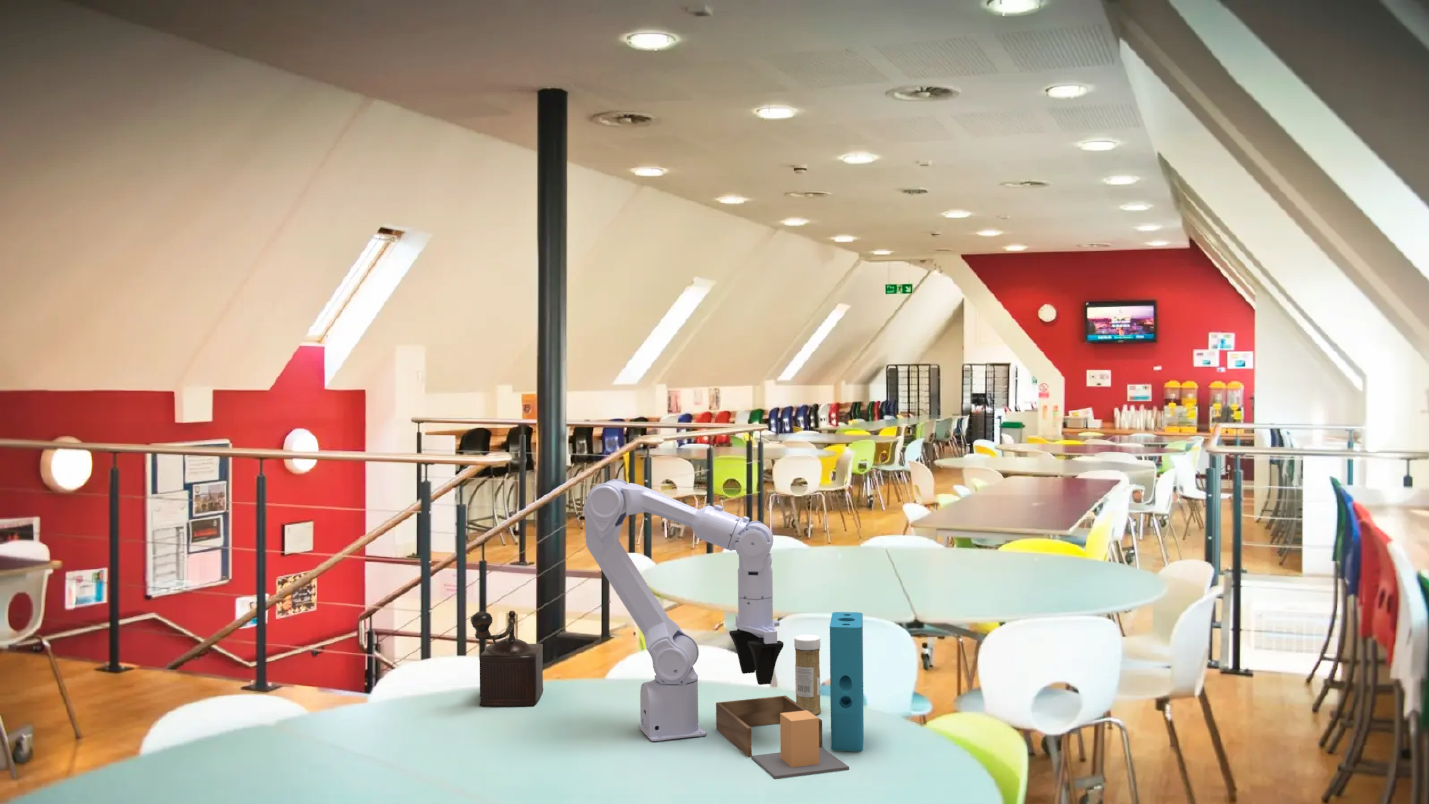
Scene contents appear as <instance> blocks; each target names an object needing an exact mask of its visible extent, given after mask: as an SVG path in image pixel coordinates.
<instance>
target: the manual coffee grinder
mask: <svg viewBox="0 0 1429 804" xmlns="http://www.w3.org/2000/svg"><path fill="white" fill-rule="evenodd" d="M508 617H509V618H508V619H507V623H508V624H507V627H506V630H505V631H504V632H502V633H500V634H495V635H493V634H492V633H491V632H490V629H489V628H490V626H491V625H492V624H493V617H492V615H491V614H490V613H489V612H486V611H483V610H482V611H478V612H476V613H475V614H473V615H472V616H471V617H470V624H471V625H472V627H473V629H475V634H474V636H475V639H476V640H491V641H492V642H493V643H490V644H489V645H487V646H486V647H485V649H484V651H483V652H481V653H480V655H479V657H478V659H479V660H478V661H479V698H480V699H479V701H480V702H479V706H480V707H487V708H488V707H489V708H529V707H531V708H532V707H533V708H534V707H535V706H537V705H538V703H539V701H540V699H541V698H542V696H543V694H544V681H543V680H544V676H543V675H544V673H543V671H544V669H543V666H544V665H543V664H544V662H543V661H544V660H543V657H544V655H543V649H544V645H543V643H528V642H526V641H524V640H522V639H519V638H516V636H515V624H516V623H517V621H516V612H515V611H514V610H509V612H508ZM508 635H509V636H508ZM507 636H508V637H507Z"/></svg>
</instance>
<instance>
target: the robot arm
mask: <svg viewBox="0 0 1429 804" xmlns="http://www.w3.org/2000/svg"><path fill="white" fill-rule="evenodd" d="M723 509H724V506H722V505H719V504H715V505H714V506H712V505H706V506H703V507H701V508H700V509H699V508H696V507H694V506H691V505H689V504H686V503H684V502H682V501H680V500H678V499H677V500H676V499H675V498H672V497H670V496H667V495H665V494H663V493H660V492H658V491H656V490H653V489H652V488H649V487H646V486H644V485H640V484H639V483H638V484H637V483H633V482H630V483H628V482H627V481H625V480H623V479H621V478H614V479H611V480H610V479H609V480H607V481H606V482H604V483H599V484H596V485H594V486H593V487H592V488H591V489H590V490H589V492H588V493H587V496H586V499H585V502H584V506H583V507H582V513H583V515H584V524H585V545H586V547H587V550H588V551H589V552H590V555H591V556H592V557H593V558H594V559H593V560H594V561H595V562H596V564H597V565H598V567H599V568H600V570H601V571H602V573H603V574H604V576H605V578H606V579H607V581H608V582H609V584H610V586H611V587H612V589H613V590H614V591H615V593H616V595H617V596H618V598H619V599H620V601H621V603H622V604H623V605H624V607H625V608H626V610H627V612H628V613H629V615H630V616H631V618H632V619H633V622H634V623H635V624H636V626H637V627H638V628H639V630H640V632H641V633H642V635H643V637H644V642H645V647H646V651H647V652H648V653H649V656H650V658H651V661H652V668H653V671H654V673H655V675H654V679H652V680H649V681H645V682H643V683H641V686H640V691H639V692H640V694H639V695H640V700H639V701H640V704H639V705H640V726H639V729H640V730H641V731H642V732H643V734H644V735H646V737H647V738H648V739H649V740H650V741H651V742H658V741H659V742H660V741H667V740H674V739H675V740H676V739H683V738H684V739H686V738H695V737H702V736H703V737H704V736H706V735H707V731H705V730H704V729H703V728H702V727H701V726H700V725H699V675H698V674H697V672H696V671H695V668H694V665H695V664H696V663H697V662H698V659H699V655H700V652H699V651H700V649H699V646H698V643H697V642H696V640H694V638H693V637H691V636H690V635H688V634H687V633H685V632H684V631H683V630H682V629H681V627H680V626H679V624H678V623H677V622H675V621H674V620H672V619H671V617H669V616H668V614H667V613H666V611H665V610H664V608H663V607H662V605H661V603H660V602H659V600H658V599H657V597H656V595H655V594H654V593H653V591H652V590H651V588H650V587H649V585H648V583H647V582H646V580H645V579H644V577H643V576H642V574H641V572H640V570H638V568H637V567H636V565H635V563H634V562H633V559H631V557H630V555H629V554H628V552H627V551H626V550H625V549H626V548H624V546H623V545H622V543H621V541H620V535H621V531H622V528H623V524H624V521H625V519H626V518H627V516H631V515H638V514H644V513H649V514H651V515H655V516H658V517H661V518H662V519H663V518H664V519H666V520H669V521H670V522H671V521H672V522H674V523H678V524H679V525H684V526H685V527H689V528H691V530H692V532H693V533H694V535H695V538H697V539H698V540H699V539H700V540H702V541H704V542H707V543H709V544H711V545H715V546H717V547H720V548H723V549H725V550H728V551H731V552H732V551H736V553H737V555H738V568H737V609H738V611H737V612H738V613H737V614H736V615H735V627H736V628H737V629H735V630H729V632H728V633H729V636H730V638H731V640H732V642H733V645H734V646H735V649H736V653H737V658H738V662H739V663H738V664H739V667H740V670H741V673H742V674H743V675H745V674H753V673H755V679H756V682H757V685H760V686H763V685H771V684H772V681H773V676H774V673H775V667H776V663H777V660H778V658H779V655H780V653H781V652H782V649H783V648H784V646H785V645H784V642H783V641H781V640H778V631H777V630H776V627H780V621H779V620H777V619H776V620H775V619H774V611H773V610H774V608H773V606H774V605H773V602H774V599H773V597H774V595H773V591H774V589H773V585H774V583H773V568H772V561H773V559H772V553H771V549H772V547H773V545H774V534H773V532H772V530H771V529H770V528H769V527H768V525H766V524H765V523H763V522H762V521H759V520H752V521H750V517H749V516H746V515H744V516H743V517H741V516H737V515H735V514H732V513H730V512H727V511H725V510H723Z"/></svg>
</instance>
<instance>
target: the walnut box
mask: <svg viewBox="0 0 1429 804" xmlns="http://www.w3.org/2000/svg"><path fill="white" fill-rule="evenodd" d="M805 710H806V709H805V708H803V707H802V706H800V705H799V704H797V703H796V701H794V700H793V699H791V698H790V697H788V695H785V694H784V695H778V696H768V697H758V698H748V699H739V700H738V699H737V700H727V701H719V702H716V703H715V716H716V717H715V722H716V723H715V726H716V728H715V730H717V731H718V732H719V733H720V734H721V735H722V736H723V737H724V738H726V739H727V741H728V742H730V743H731V744H732V745H733V746H735V747H736V748H737V749H738V750H739V751H741V753H743V755H745V756H746V757H747V758H751V756H753V754H752V752H753V751H752V727H758V726H766V725H767V726H768V725H775V724H776V725H777V724H780V713H787V712H796V711H805ZM807 711H808V710H807ZM810 713H811V712H810ZM813 715H814V714H813ZM815 716H816V717H818V716H817V715H815ZM818 718H819V748H821V747H823V720H822V719H821V718H820V717H818Z"/></svg>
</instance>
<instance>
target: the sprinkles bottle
mask: <svg viewBox="0 0 1429 804" xmlns="http://www.w3.org/2000/svg"><path fill="white" fill-rule="evenodd" d="M793 639H794V642H793V643H794V651H795V665H794V667H795V668H794V669H795V670H794V673H795V674H794V675H795V679H794V680H795V700H796V701H795V702H796V703H797V704H799V705H800V706H802V707H803V708H805V709H806V710H808V711H809V712H811V713H812V714H814V715H815V716H817V715H819V714H820V713H821V712H822V708H821V671H820V670H821V668H820V651H821V637H820V636H818V635H814V634H800V635H796V636H795V637H794V638H793Z"/></svg>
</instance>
